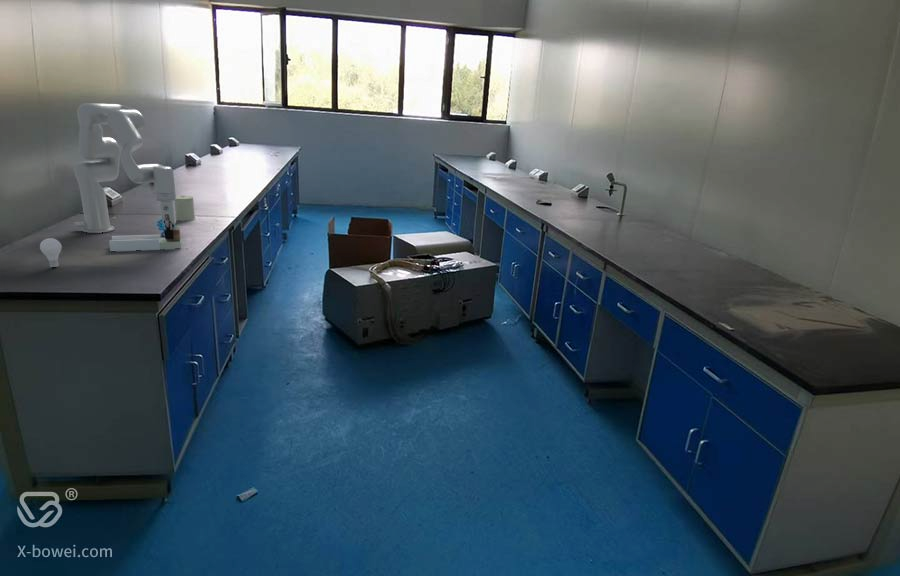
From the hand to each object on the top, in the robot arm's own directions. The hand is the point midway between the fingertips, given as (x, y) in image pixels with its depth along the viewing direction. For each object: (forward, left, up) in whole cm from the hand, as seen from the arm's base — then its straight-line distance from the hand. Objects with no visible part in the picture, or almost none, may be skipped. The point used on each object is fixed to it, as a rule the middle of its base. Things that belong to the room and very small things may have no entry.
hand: (170, 236), depth 230 cm
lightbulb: (-37, -24, -5) cm, 44 cm away
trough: (-9, 0, -5) cm, 10 cm away
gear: (-2, +21, -5) cm, 21 cm away
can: (+4, +57, -5) cm, 57 cm away
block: (+1, 0, -2) cm, 2 cm away
